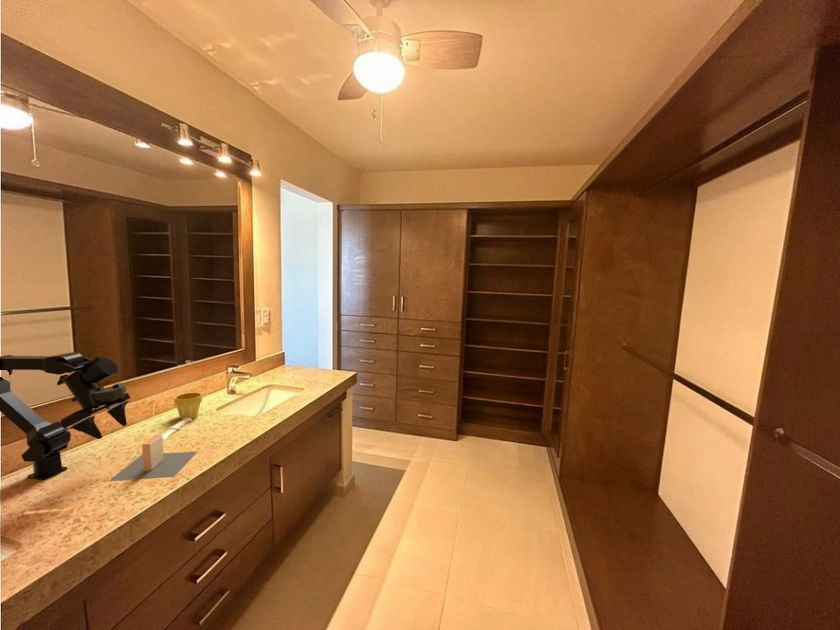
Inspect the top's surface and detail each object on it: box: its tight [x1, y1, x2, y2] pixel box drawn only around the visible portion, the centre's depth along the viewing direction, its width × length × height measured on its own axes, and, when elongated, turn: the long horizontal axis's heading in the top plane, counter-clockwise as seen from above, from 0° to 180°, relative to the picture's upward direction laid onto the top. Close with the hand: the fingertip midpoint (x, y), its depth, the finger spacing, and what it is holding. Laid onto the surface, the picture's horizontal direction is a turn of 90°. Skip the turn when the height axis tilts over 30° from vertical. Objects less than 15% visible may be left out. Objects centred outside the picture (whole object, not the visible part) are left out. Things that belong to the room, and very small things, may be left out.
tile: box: [141, 433, 164, 471], centre depth 112 cm, size 2×7×9 cm, turn 10°
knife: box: [162, 417, 193, 440], centre depth 135 cm, size 30×2×8 cm
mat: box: [108, 450, 199, 482], centre depth 113 cm, size 18×16×1 cm
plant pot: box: [174, 391, 203, 420], centre depth 153 cm, size 10×10×10 cm
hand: (113, 431), depth 107 cm, fingers open, 9 cm apart
